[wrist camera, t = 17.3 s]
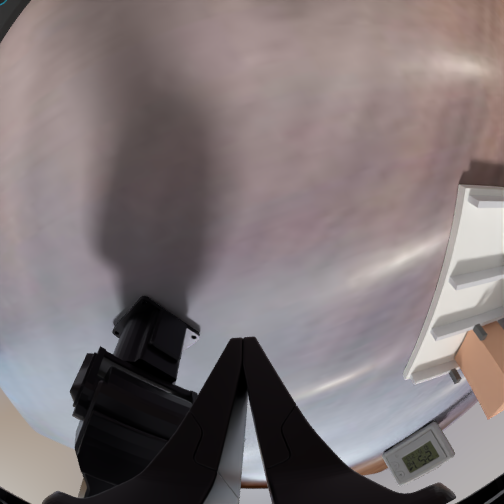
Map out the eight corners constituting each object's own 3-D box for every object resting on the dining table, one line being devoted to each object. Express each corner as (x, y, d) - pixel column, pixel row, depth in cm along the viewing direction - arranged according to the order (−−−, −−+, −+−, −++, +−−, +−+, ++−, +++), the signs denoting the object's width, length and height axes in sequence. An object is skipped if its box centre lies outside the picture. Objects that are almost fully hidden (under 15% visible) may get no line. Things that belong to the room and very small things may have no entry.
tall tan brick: (454, 358, 29) (487, 419, 19) (470, 326, 26) (513, 390, 16) (477, 349, 29) (511, 404, 19) (494, 317, 26) (535, 375, 16)
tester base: (402, 374, 31) (415, 403, 27) (458, 184, 19) (496, 205, 15) (486, 345, 31) (501, 366, 26) (542, 190, 19) (569, 207, 14)
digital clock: (436, 417, 42) (452, 456, 33) (445, 421, 45) (459, 456, 36) (374, 452, 47) (384, 490, 38) (389, 454, 50) (399, 488, 41)
